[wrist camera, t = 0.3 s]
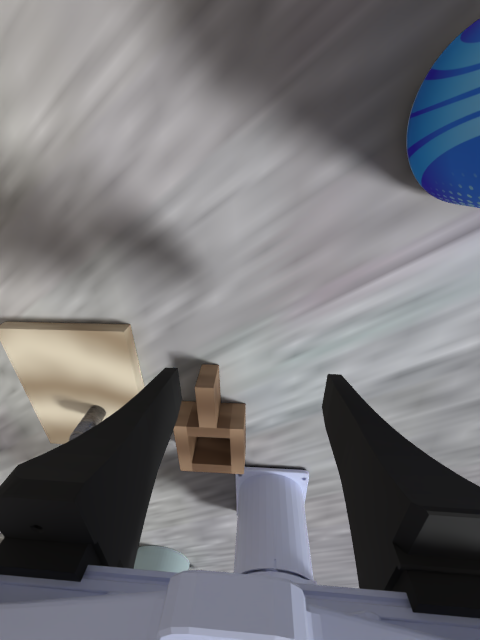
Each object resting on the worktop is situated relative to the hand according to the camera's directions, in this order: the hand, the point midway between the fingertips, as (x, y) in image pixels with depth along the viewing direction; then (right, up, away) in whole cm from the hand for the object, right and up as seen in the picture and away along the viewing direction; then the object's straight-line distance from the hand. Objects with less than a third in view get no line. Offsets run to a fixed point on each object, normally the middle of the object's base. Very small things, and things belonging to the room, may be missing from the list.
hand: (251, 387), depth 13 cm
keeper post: (-14, -6, +13) cm, 20 cm away
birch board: (-15, -3, +13) cm, 20 cm away
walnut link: (-3, -5, +14) cm, 15 cm away
